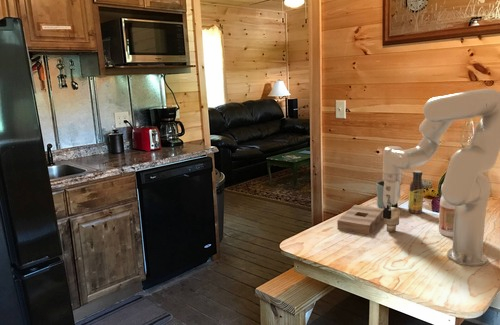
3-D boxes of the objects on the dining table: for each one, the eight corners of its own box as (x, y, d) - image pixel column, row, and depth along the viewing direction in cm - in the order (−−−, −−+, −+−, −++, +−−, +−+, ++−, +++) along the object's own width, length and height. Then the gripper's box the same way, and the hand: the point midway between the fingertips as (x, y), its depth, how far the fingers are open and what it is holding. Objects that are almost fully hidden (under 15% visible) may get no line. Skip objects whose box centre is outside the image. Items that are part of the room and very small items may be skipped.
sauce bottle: (413, 214, 186) (415, 173, 181) (405, 210, 192) (406, 170, 187) (425, 212, 187) (427, 172, 183) (416, 208, 193) (418, 169, 189)
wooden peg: (396, 234, 166) (397, 213, 164) (381, 231, 170) (382, 210, 167) (400, 229, 171) (401, 208, 169) (385, 226, 174) (386, 206, 172)
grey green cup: (379, 201, 206) (379, 179, 203) (399, 204, 200) (400, 181, 197) (373, 208, 198) (373, 184, 195) (394, 211, 192) (394, 187, 189)
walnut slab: (368, 234, 168) (369, 225, 167) (337, 228, 176) (337, 220, 175) (384, 217, 185) (384, 208, 184) (354, 212, 193) (354, 204, 192)
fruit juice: (433, 230, 167) (436, 166, 161) (451, 227, 170) (455, 163, 164) (450, 239, 159) (454, 171, 152) (469, 235, 161) (474, 168, 155)
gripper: (395, 183, 156) (393, 223, 160) (406, 171, 170) (404, 209, 174) (376, 180, 160) (375, 220, 164) (388, 169, 174) (387, 206, 178)
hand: (390, 214), depth 169 cm, fingers open, 9 cm apart
